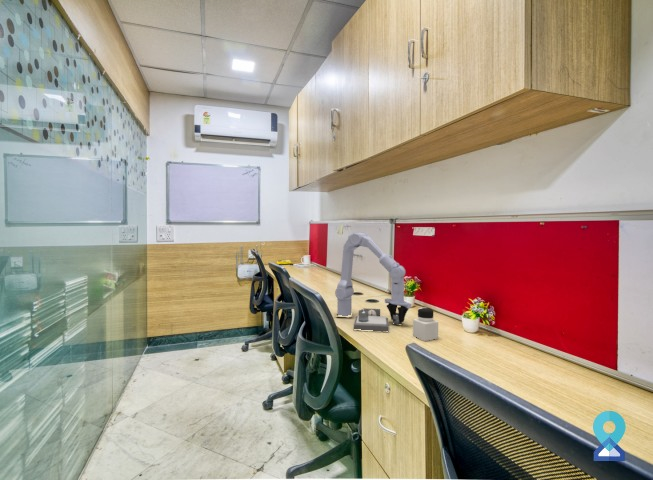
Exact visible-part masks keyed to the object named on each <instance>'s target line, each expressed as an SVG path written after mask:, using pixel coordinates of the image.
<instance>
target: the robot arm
mask: <svg viewBox="0 0 653 480" xmlns="http://www.w3.org/2000/svg"><path fill="white" fill-rule="evenodd" d="M359 247H363V248H367V249H369V251H370V252H371V253H373V254H374V255H375V256H376V257H377V258H378V260H379V263H380V264H381V266H383V268H384V269H385V270H386V271H387V272H389V276H390V277H391V283H390V284H391V285H390V286H391V289H390V290H391V294H390V295H391V298H384V303H385V304H386V309H388V312H389V315H390V319H391V321H393V314H394V313H399V322H402V323H404V321H405V319H406V318H405V317H406V315H407V312H408V311H409V309H412V303H410V302H407V301H405V280H404V279H405V275H406V269H405V267H404V266H403V265H400V263H399V262H398V261H396V260H395V259H394V258H393V255H391V254H388V253H385V252H383V250H382V249H381V248H380V247H379V246H378V245H377V243H375V242H374V241H373V239H372V237H371V236H369V235H368V234H367V233H366V232H352V233H351V234H349V235H348V237H347V240H346V241H345V242H344V244H343V250H342V258H341V259H342V262H341V271H340V280H339V282H338V283H337V284H336V285H337V287H336V289H335V290H334V291H335V292H334V294H335V297H336V298H337V314H338V315H342V316H348V315H351V313H352V310H353V309H352V308H353V307H352V303H353V302H352V297H353V295H354V288H353V285H354V283H353V281H352V276H353V275H352V273H353V264H354V263H353V261H354V255H355V254H354V252H355V250H357V249H358V248H359ZM337 314H336V315H337Z"/></svg>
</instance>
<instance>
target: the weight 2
mask: <svg viewBox="0 0 653 480" xmlns="http://www.w3.org/2000/svg"><path fill="white" fill-rule="evenodd" d="M393 323H394V324H402V325H403V322H399V312H396V313H394V314H393V320H392V324H393ZM394 324H393V325H394Z"/></svg>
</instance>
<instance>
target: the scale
mask: <svg viewBox="0 0 653 480" xmlns="http://www.w3.org/2000/svg"><path fill="white" fill-rule="evenodd" d="M363 309H365V310H367V311H368V322H359V314H358V315H356V316H355V319H354V322H353V330H354V329H361V330H373V331H388V332H389V333H390V327H389V318H388V317H387V316H385V315H381V309H380V308H367V307H366V308H365V307H364V308H363ZM388 332H387V333H388Z"/></svg>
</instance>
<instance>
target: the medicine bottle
mask: <svg viewBox="0 0 653 480" xmlns="http://www.w3.org/2000/svg"><path fill="white" fill-rule="evenodd" d="M412 337H414V338H416V337H417V338H416V339H418V338H419V340H420V339H421V340H420V341H424V342H429V340H430V341H434V340H433V339H435V340H439V321H438V320H435V319H434V309H432V308H430V307H420V308H419V307H418V309H417V318H414V319H412Z"/></svg>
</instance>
